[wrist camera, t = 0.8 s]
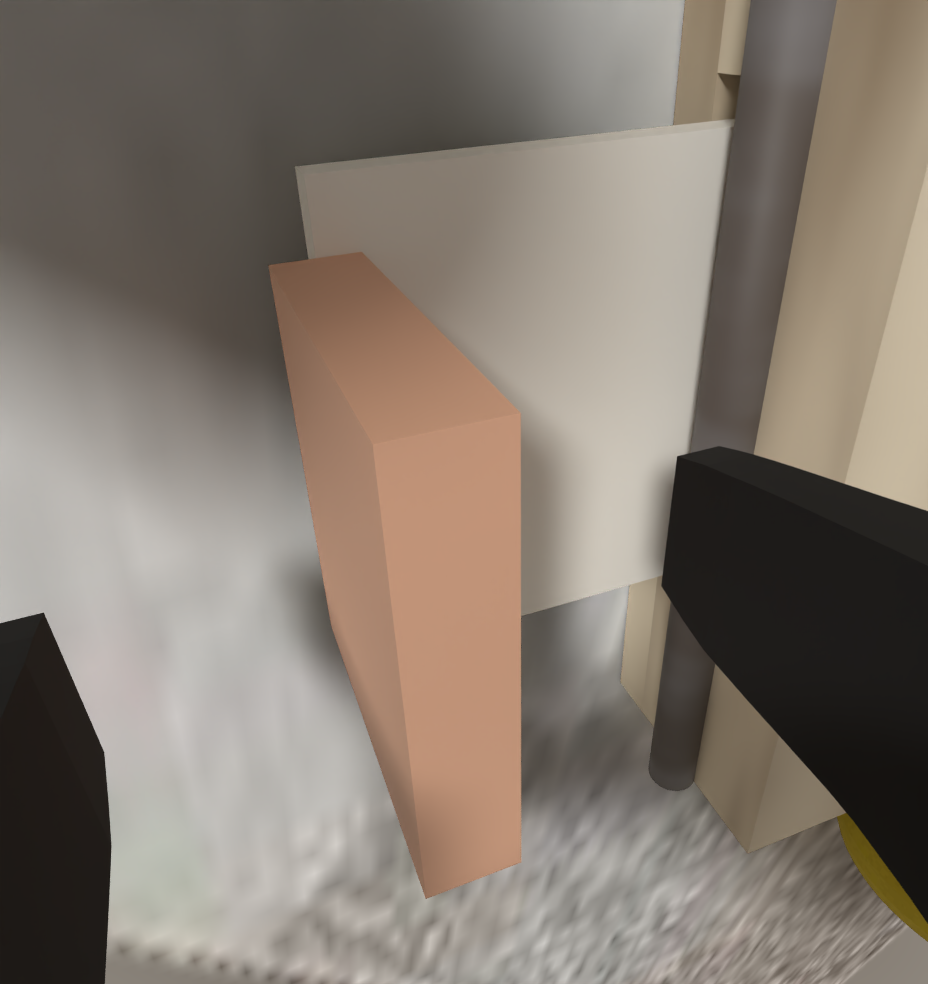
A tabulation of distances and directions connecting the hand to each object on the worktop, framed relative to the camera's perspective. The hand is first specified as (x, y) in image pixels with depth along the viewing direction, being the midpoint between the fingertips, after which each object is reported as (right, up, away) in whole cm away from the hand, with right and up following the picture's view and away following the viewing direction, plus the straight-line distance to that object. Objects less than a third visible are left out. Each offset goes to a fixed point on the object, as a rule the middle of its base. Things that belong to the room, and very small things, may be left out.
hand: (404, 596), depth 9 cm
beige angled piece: (+5, +3, +5) cm, 8 cm away
